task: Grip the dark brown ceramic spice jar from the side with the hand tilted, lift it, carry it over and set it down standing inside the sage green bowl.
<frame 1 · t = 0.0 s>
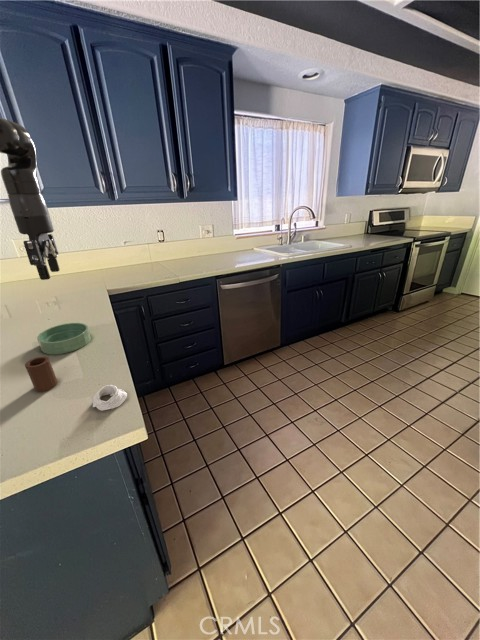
hand: (50, 275, 75), 28 cm above the worktop, tool pointing down, fingers open, 8 cm apart
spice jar: (47, 387, 74), on the worktop
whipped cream: (111, 403, 68), on the worktop
bowl: (67, 344, 95), on the worktop
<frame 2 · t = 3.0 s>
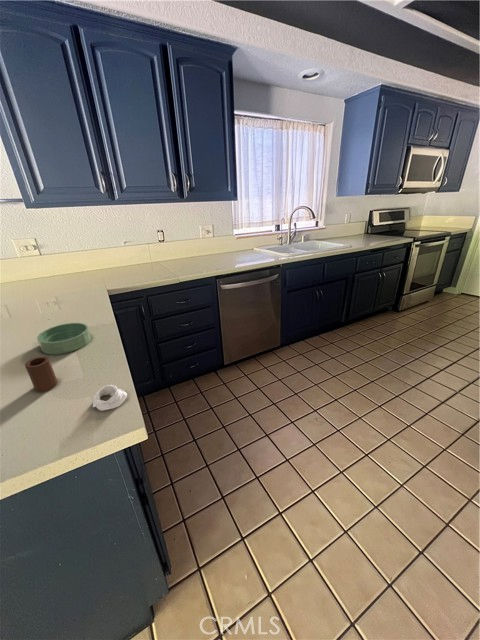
nothing on the worktop moved.
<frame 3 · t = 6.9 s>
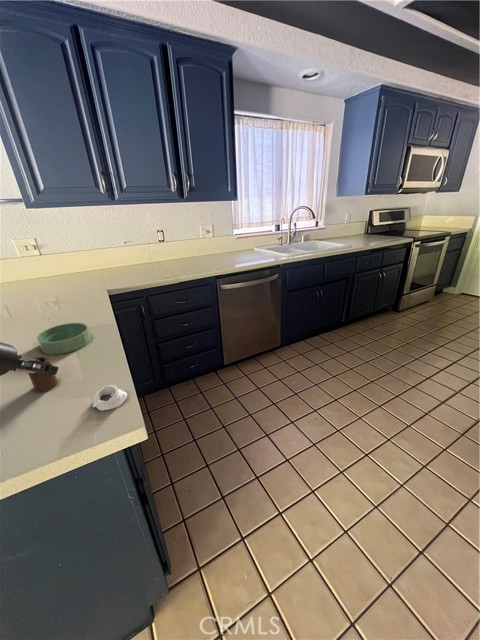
hand: (47, 369, 73), 5 cm above the worktop, tool tilted 45°, fingers closed on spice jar, 5 cm apart
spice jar: (47, 387, 74), on the worktop, touching gripper
everything else where it was.
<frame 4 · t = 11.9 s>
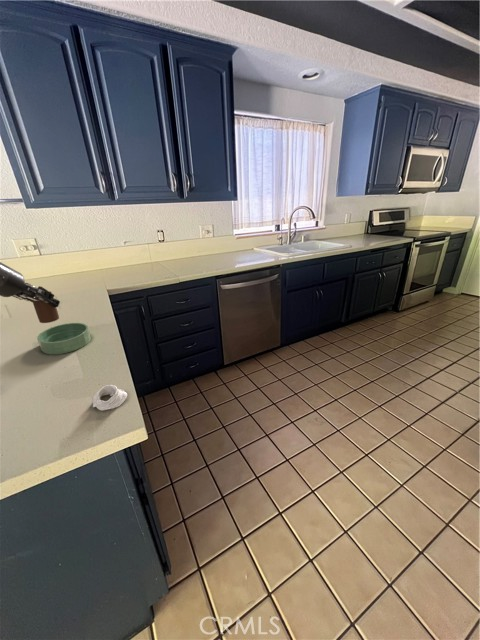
hand: (49, 303, 82), 18 cm above the worktop, tool tilted 45°, fingers closed on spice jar, 5 cm apart
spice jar: (49, 319, 83), point 13 cm above the worktop, touching gripper
everything else where it was.
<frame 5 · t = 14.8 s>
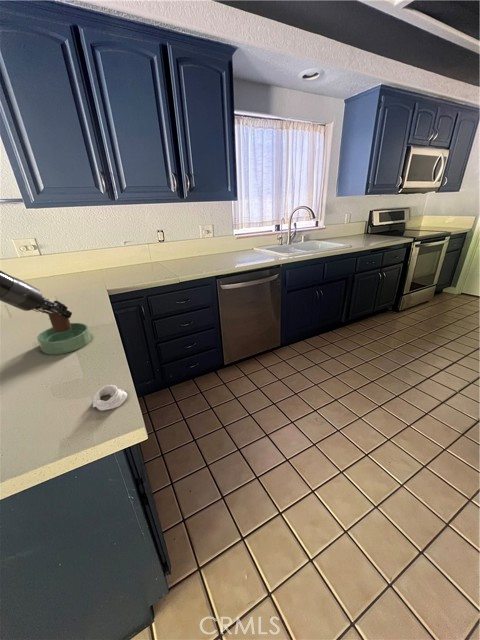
hand: (63, 314, 92), 11 cm above the worktop, tool tilted 45°, fingers closed on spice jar, 5 cm apart
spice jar: (62, 329, 92), point 6 cm above the worktop, touching gripper
everything else where it was.
when the fingers open (5 cm above the worktop, at t = 16.9 s): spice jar stays where it is, resting on bowl.
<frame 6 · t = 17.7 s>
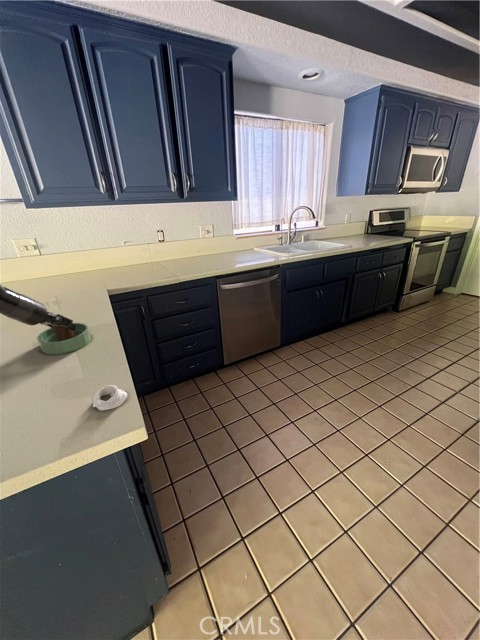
hand: (65, 326, 93), 7 cm above the worktop, tool tilted 45°, fingers open, 8 cm apart
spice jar: (67, 343, 95), point 1 cm above the worktop, touching bowl
everything else where it was.
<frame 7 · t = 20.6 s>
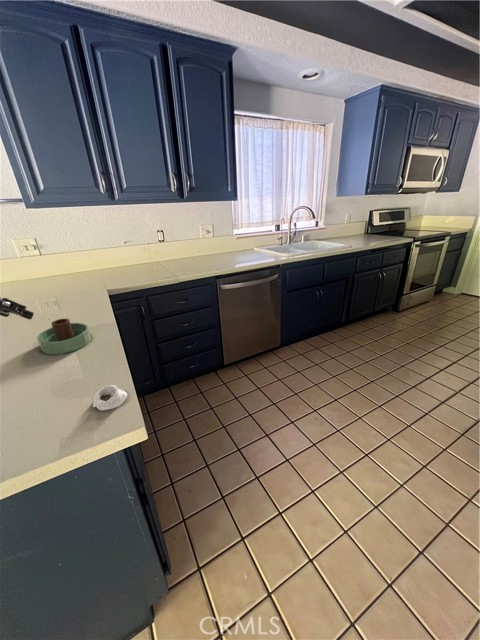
hand: (19, 315, 78), 17 cm above the worktop, tool tilted 45°, fingers open, 8 cm apart
nothing on the worktop moved.
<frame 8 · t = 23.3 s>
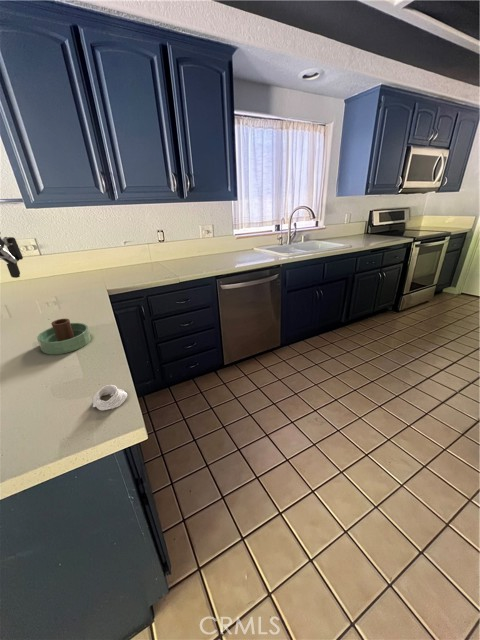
nothing on the worktop moved.
at the end: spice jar inside the target area in the bowl (0.1 cm from its centre), point 0.6 cm above the bowl's base; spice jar tilted 0°; the gripper is holding nothing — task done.
